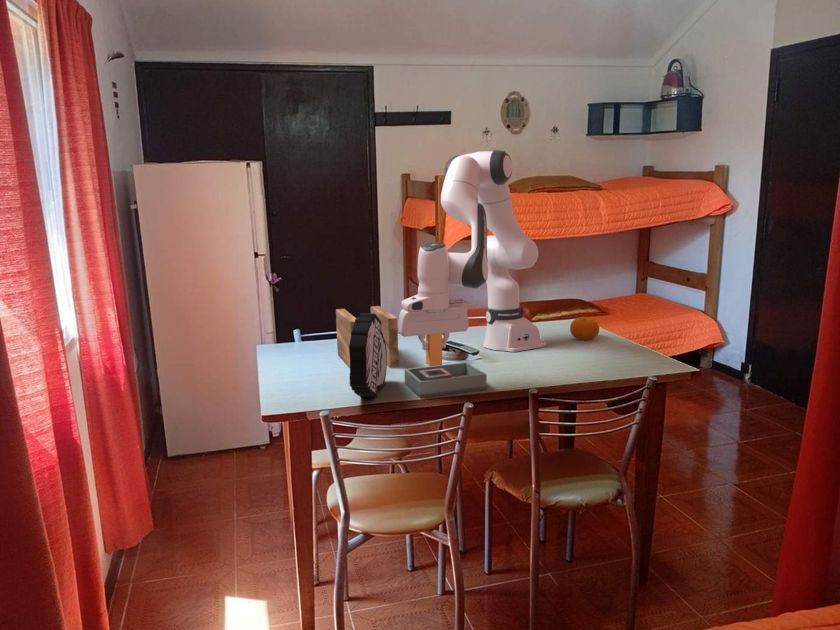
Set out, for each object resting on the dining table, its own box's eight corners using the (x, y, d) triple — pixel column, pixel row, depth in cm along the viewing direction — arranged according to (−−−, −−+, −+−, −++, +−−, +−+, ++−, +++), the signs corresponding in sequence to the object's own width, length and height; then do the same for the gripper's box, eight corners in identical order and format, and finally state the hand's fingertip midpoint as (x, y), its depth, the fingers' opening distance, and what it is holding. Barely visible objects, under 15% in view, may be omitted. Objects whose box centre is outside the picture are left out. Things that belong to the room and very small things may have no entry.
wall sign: (384, 404, 197) (362, 387, 169) (370, 403, 198) (345, 387, 169) (388, 331, 203) (368, 303, 175) (375, 331, 204) (352, 303, 175)
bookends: (380, 350, 236) (378, 305, 233) (398, 366, 215) (397, 318, 212) (337, 354, 231) (335, 309, 228) (352, 371, 211) (350, 322, 207)
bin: (467, 376, 204) (467, 361, 203) (486, 389, 191) (486, 374, 190) (404, 383, 198) (404, 369, 197) (420, 398, 185) (419, 382, 184)
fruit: (569, 341, 243) (570, 320, 242) (569, 335, 253) (570, 314, 252) (599, 343, 241) (600, 321, 239) (598, 336, 251) (599, 315, 249)
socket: (442, 379, 198) (442, 368, 197) (451, 386, 191) (451, 374, 190) (418, 382, 195) (418, 370, 195) (427, 389, 189) (427, 377, 188)
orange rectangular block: (437, 361, 194) (437, 328, 192) (442, 365, 191) (441, 330, 189) (426, 363, 193) (425, 329, 191) (430, 366, 190) (429, 331, 188)
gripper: (463, 296, 194) (463, 343, 197) (396, 301, 188) (397, 349, 191) (472, 300, 188) (472, 348, 191) (402, 305, 182) (403, 354, 185)
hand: (434, 348), depth 191 cm, fingers closed on orange rectangular block, 4 cm apart
